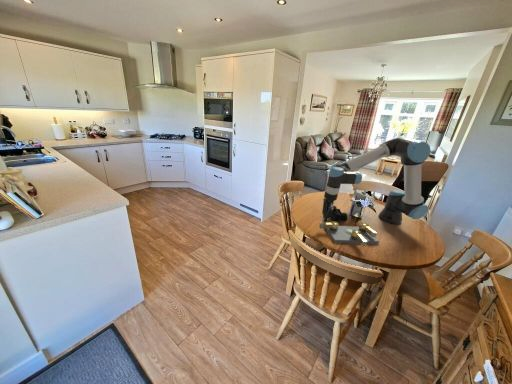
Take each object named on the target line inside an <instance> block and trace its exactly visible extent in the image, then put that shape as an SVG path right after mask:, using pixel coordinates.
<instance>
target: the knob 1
mask: <svg viewBox="0 0 512 384" xmlns="http://www.w3.org/2000/svg"><path fill="white" fill-rule="evenodd" d="M339 226H340V222H339V223H338V222H335V221H331V222H327V223H322V222H319V228H320V230H321V229H322V230H323V229H325V228H330V229H331V230H333V231H337V230H338V227H339Z"/></svg>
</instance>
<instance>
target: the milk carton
mask: <svg viewBox="0 0 512 384" xmlns="http://www.w3.org/2000/svg"><path fill="white" fill-rule="evenodd" d="M366 194H367V193H366V192H365V191H364V190H362V191H361V190H359V189H355V193H354V196H353V199H354V198H355V200H360V199H361V200H364V201H366V199H367V195H366ZM363 208H364V206H363V207H358V206H357V204H356V203H355V201H353V200H352V203H351V207H350V210H349V217H352V216H353V215H354V214H356V213H359V214H360V216H362V211H363Z"/></svg>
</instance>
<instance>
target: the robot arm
mask: <svg viewBox="0 0 512 384" xmlns="http://www.w3.org/2000/svg"><path fill="white" fill-rule="evenodd" d="M431 151H432V150H431V146H430V144H429V143H428V142H426V141H423V140H421V139H413V138H409V137H404V136H403V137H396V138H391V139H389V140H386V141H384V142H382V143H380V144H379V145H378V146H377V147H376V148H373V149H371V150H369V151H367V152H364V153H362V154H360V155H357V156H356V157H353V158H352V159H349V160H347V161H345V162H343V163H334V164H333V165H332V166H331V168H330V170H329V173H328V177H327V183H326V187H325V191H324V195H323V200H322V201H323V204H322V212H321V213H322V219H321V223H328V219H330V217H331V214H332V212H333V210H334V209H335V207H333V206H334V202H336V201H337V199H338V196H339V192H340V188H341V185H358V184H360V183H362V179H363V174H362V173H361V172H360V171H357V170H360V169H361V168H364V167H366V166H368V165H370V164H372V163H375V162H377V161H379V160H382V159H383V158H385V159H386V158H389V157H393V156H395V157H399V158H400V164H401V165H403V179H404V181H403V183H404V184H403V185H404V186H403V187H404V188H403V189H404V190H399V189H391V190H390V191H389V193H388V196H387V198H386V201H385V204H384V207H383V209H382V210H381V211H380V212H379V213H378V217H379V219H381V220H382V221H383V222H385V223H390V224H393V225H399V224H402V222H403V214H404V215H405V216H407V217H409V218H411V219H412V220H419V219H421V218H423V217H425V216H426V214H428V211H429V209H430V208H429V206H428V205H427V204H425V198H424V197H423V196H422V165H423V164H424V163H425V162H426V160H428V158H429V156H430V155H431ZM330 220H331V219H330Z"/></svg>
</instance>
